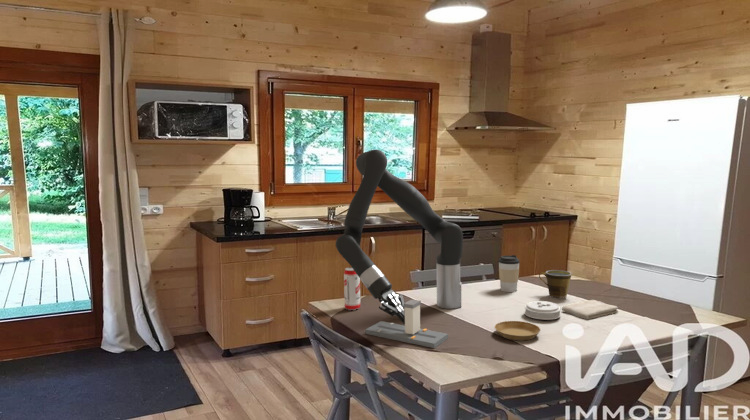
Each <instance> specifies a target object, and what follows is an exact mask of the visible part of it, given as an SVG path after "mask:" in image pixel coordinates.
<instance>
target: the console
mask: <svg viewBox="0 0 750 420" xmlns="http://www.w3.org/2000/svg"><path fill="white" fill-rule="evenodd" d="M365 334H366V335H368V336H369V335H370V336H375V337H379V338H384V339H389V340H393V341H398V342H404V343H408V344H413V345H417V346H422V347H427V348H432V349H435V348H437V347H438V346H439V345H441V344H442V343H444V342H446V340H448V339H449V333H445V332H440V331H434V330H430V329H428V328H420V330H419V331H418V332H416V333H415V334H408V333H405V324H398V323H394V322H387V321H383V320H380V321H378V322H377V323H375V324H373V325H371V326H370V327H368V328H366V329H365Z"/></svg>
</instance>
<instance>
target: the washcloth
mask: <svg viewBox="0 0 750 420" xmlns="http://www.w3.org/2000/svg"><path fill="white" fill-rule="evenodd" d="M618 309H619V307H618V306H617V305H613V304H607V303H605V302H603V301H599V300H595V299H590V300H584V299H583V300H581V301H578V302H577V301H576V302H572V303H570V304H564V305H563V306H562V308H561V310H562V311H563V312H564V313H567V314H569V315H573V316H576V317H578V318H581V319H585V320H591V319H595V318H599V317H603V316H607V315H612V314H615V313H619V311H618Z"/></svg>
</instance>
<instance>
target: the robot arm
mask: <svg viewBox="0 0 750 420" xmlns="http://www.w3.org/2000/svg"><path fill="white" fill-rule="evenodd" d="M355 164H356V165H355V166H356V169H357V170H358V172H359V173H360V175H362V176H363V177H362V179H361V182H360V184H359V186H358V188H357V190H356V192H355V194H354V195H353V197H352V200H350V204H349V206H348V208H347V212H346V215H345V218H344V223H343V224H344V225H343V226H344V231H343V234H341V235H339V236H338V237H337V238H336V241H335V249H336V251H337V252H338V253H339V254H340V255H341V257H342V258H343V259H344V260H345V261H346V262H347V263H348V264H349V266H351V267H352V268H353V270H354V271H355V272H356V274H357V275H358V276H359V278H360V282H362V284H363V285H364V286H365V288H366V289H367V291H368V292H369V293H370V294H371V296H372V297H373V298H374V299H376V300H378V302H379V304H380V305H379V306H378V308H379V310H381V311H383V312H384V313H386V314H388V316H391V317H394V316H395V317H397V318H398V320H400V322H401V323H402V325H405V307H404V303H405V299H404V296H403V294H402V293H400V294H397V293H396V291H394V290H393V289H392V287H393V284H392V283H391V282H390V281H389V279H388V278H387V276H385V275H386V274H384V272H382V270H381V269H380V268H379V267H378V266H377V265H376V264H375V263H374V261H373V260H372V259H371V258H370V257H369V256H368V254H367V253H365V252H364V250H363V249H362V248H361V242H362V234H363V229H364V226H365V223H366V220H367V216H368V213H369V210H370V207H371V203H372V200H373V198H374V195H375V193H376V190H377V188H379V189H380V190H381V191H383V193H384V194H385V195H386V196H387V197H388V198H390V200H392V201H393V202H394V203H395V204H396V205H397V206H398V207H399V208H400V209H402V211H404V212H405V213H406V214H408V215H409V217H411V218H412V219H413V220H415V221H416V222H417V223H419V224H420V225H421V226H422V227H423V228H424V229H425V230H426V232H428V234H429V235H430V236H431V237H432V238H433V239H434V241H435V242H437V243H438V244H440V253H439V254H438V255H437V256H436V306H437V307H438V308H440V309H447V310H448V309H451V310H453V309H457V308H458V309H459V308H462V282H461V259H462V255H463V247H464V234H463V230H462V227H460V226H459V225H458V224H456V223H454V222H450V221H447V220H446V219H444V218H443V217H441V216H440V215H439V214H438V213H437V212H435V211H434V209H433V208H432V206H431V205H430V203H429V202H428V200H427V198H426V197H425V196H424V195H423V194H422V193H421V192H420V191H419V190H418V189H417V188H416V187H415V186H414V185H412V184H411V183H409V182H407V181H406V180H403V179H401V178H400V177H397V176H396V175H394V174H393V173H392V172H390V171H389V170H388V169H387V166H388V159H387V155H386V154H385V152H383V151H382V150H381V149H371V150H368V151H364V152H362V153H360V154H359V155H358V156H357V158H356V160H355Z"/></svg>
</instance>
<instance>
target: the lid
mask: <svg viewBox="0 0 750 420" xmlns="http://www.w3.org/2000/svg"><path fill="white" fill-rule="evenodd" d="M524 309H525V311H524V315H525V316H527V317H529V318H533V319H536V320H541V321H542V320H545V321H546V320H547V321H549V320H551V321H552V320H557V319H560V318H561V316H562V314H561V310H562V308H561V307H560V306H559V305H558V304H557V303H555V302H552V301H546V300H545V301H544V300H534V301H530V302H528V303H526V304H525V305H524Z"/></svg>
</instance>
